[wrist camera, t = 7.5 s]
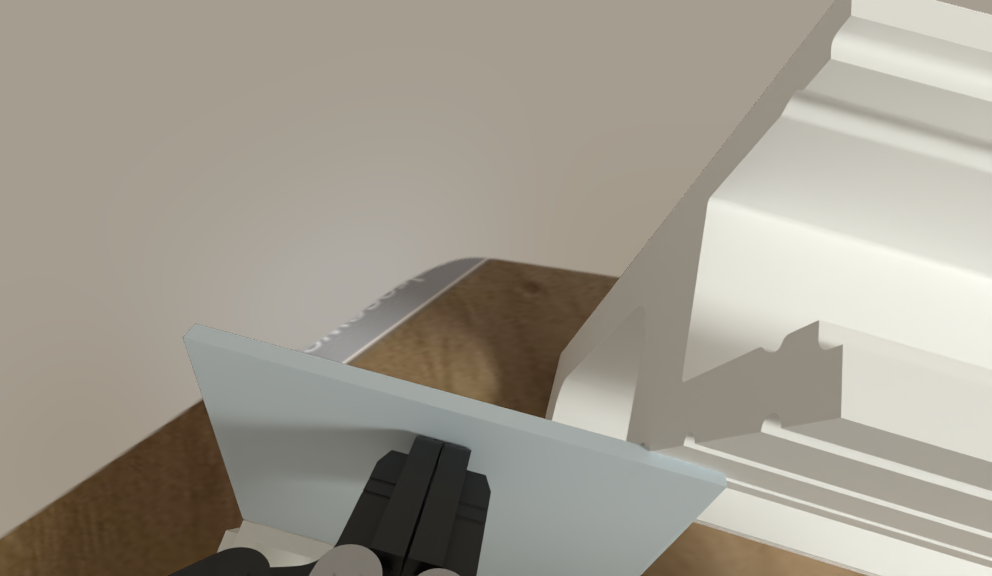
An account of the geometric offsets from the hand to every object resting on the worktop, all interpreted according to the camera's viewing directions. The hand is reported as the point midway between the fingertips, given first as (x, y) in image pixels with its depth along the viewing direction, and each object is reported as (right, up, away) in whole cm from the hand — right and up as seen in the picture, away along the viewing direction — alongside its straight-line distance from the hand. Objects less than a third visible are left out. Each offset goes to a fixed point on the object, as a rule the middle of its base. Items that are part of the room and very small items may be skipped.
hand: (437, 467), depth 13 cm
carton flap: (0, -2, +2) cm, 3 cm away
